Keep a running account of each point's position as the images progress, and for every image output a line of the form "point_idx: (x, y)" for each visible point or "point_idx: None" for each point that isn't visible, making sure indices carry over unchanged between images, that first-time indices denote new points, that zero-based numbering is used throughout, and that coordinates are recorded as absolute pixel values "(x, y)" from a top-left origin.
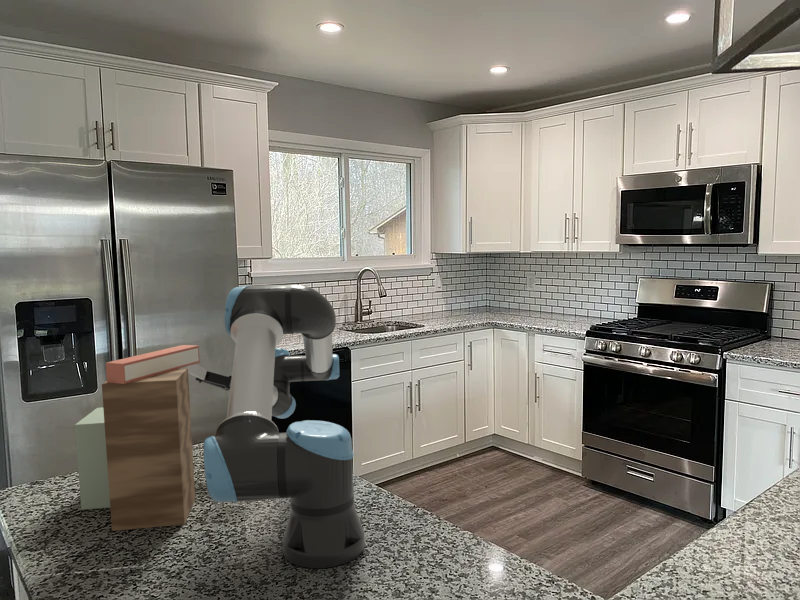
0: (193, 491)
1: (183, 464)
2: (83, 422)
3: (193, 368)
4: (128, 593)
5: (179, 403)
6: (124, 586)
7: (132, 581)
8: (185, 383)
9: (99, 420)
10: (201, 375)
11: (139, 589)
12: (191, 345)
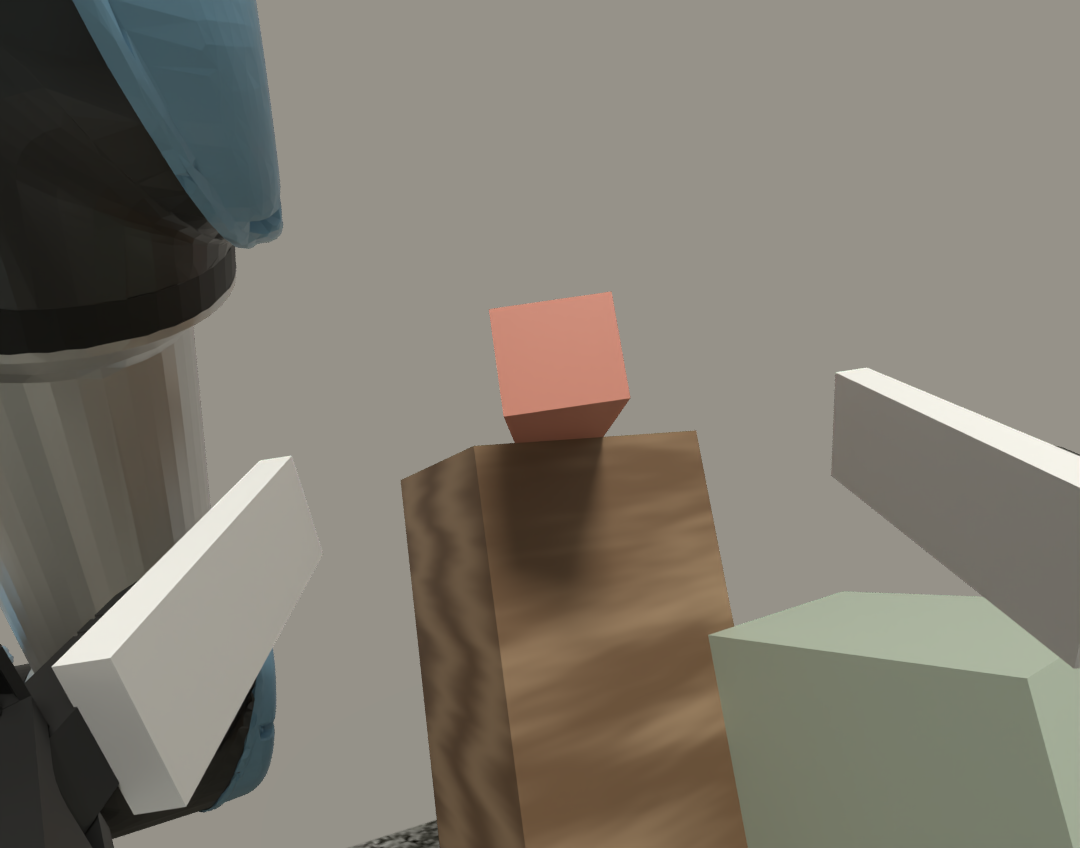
0: None
1: (446, 803)
2: (852, 596)
3: (872, 447)
4: (409, 828)
5: (418, 564)
6: (430, 832)
7: (425, 842)
8: (454, 510)
9: (833, 607)
10: (997, 568)
11: (396, 838)
12: (538, 305)
